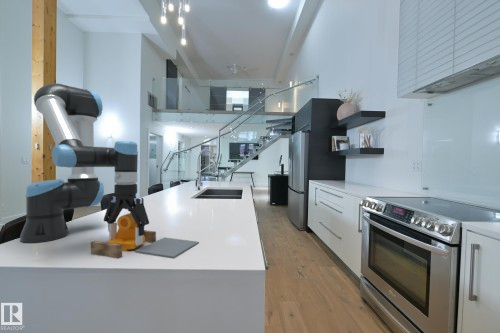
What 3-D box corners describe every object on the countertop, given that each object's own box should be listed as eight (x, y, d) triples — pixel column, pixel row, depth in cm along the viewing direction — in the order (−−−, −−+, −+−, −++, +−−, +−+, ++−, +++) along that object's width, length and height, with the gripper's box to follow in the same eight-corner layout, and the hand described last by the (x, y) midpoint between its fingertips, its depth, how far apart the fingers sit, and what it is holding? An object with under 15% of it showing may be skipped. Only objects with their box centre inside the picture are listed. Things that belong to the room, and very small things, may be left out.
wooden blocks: (90, 253, 83) (90, 241, 83) (131, 238, 100) (131, 228, 100) (118, 258, 79) (118, 246, 79) (155, 241, 96) (155, 231, 96)
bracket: (105, 249, 86) (105, 216, 86) (118, 243, 94) (119, 212, 93) (133, 251, 85) (133, 217, 85) (144, 244, 92) (145, 213, 92)
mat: (134, 252, 84) (134, 250, 84) (164, 238, 99) (164, 237, 99) (173, 258, 79) (173, 256, 79) (198, 243, 94) (198, 241, 94)
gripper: (92, 183, 89) (92, 241, 89) (145, 185, 82) (144, 249, 82) (110, 181, 96) (109, 236, 97) (159, 183, 89) (159, 242, 89)
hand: (125, 242), depth 89 cm, fingers closed on bracket, 12 cm apart
